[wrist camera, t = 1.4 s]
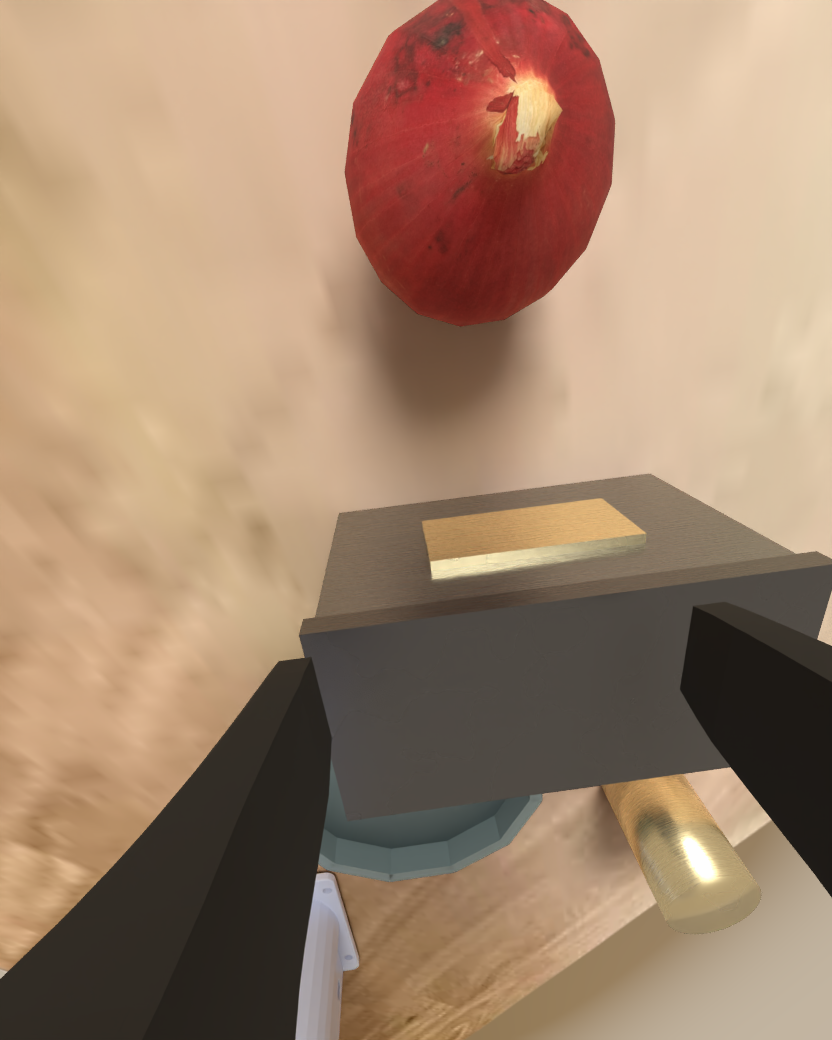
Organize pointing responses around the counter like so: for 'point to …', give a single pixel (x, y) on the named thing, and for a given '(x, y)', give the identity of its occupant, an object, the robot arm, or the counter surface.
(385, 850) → the plate
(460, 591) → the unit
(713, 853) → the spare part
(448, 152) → the onion
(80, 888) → the counter surface
